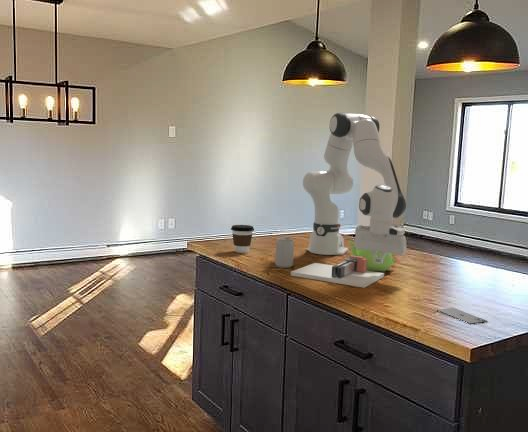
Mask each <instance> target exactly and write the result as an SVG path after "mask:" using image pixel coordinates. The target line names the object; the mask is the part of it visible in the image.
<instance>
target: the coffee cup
mask: <svg viewBox="0 0 528 432" xmlns="http://www.w3.org/2000/svg"><path fill="white" fill-rule="evenodd" d="M231 230H232V243H233V246H234V251H235V252H236V253H239V254H247V253H249V251H250V248H251V247H250V246H251V243H252V237H253V231H255V228H254V225H249V224H234V225H233V224H232V225H231V228H230V231H231Z"/></svg>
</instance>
